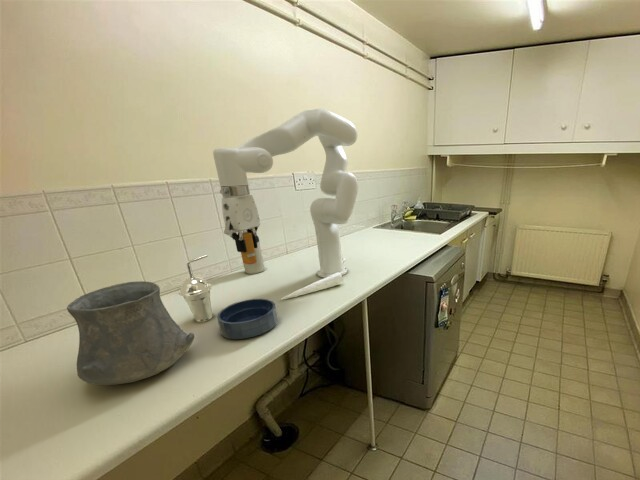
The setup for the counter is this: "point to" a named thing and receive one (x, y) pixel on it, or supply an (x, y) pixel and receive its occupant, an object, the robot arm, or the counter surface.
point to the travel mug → (259, 264)
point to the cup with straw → (197, 295)
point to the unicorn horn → (318, 285)
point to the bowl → (247, 318)
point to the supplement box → (248, 249)
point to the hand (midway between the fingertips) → (247, 249)
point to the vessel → (125, 334)
